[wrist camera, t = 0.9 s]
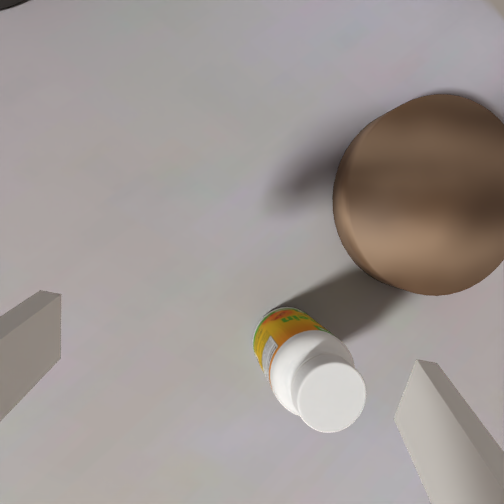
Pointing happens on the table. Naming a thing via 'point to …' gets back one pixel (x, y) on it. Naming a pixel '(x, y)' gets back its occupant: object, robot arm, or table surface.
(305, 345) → the supplement bottle
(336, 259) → the table surface
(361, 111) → the table surface
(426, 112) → the walnut base
